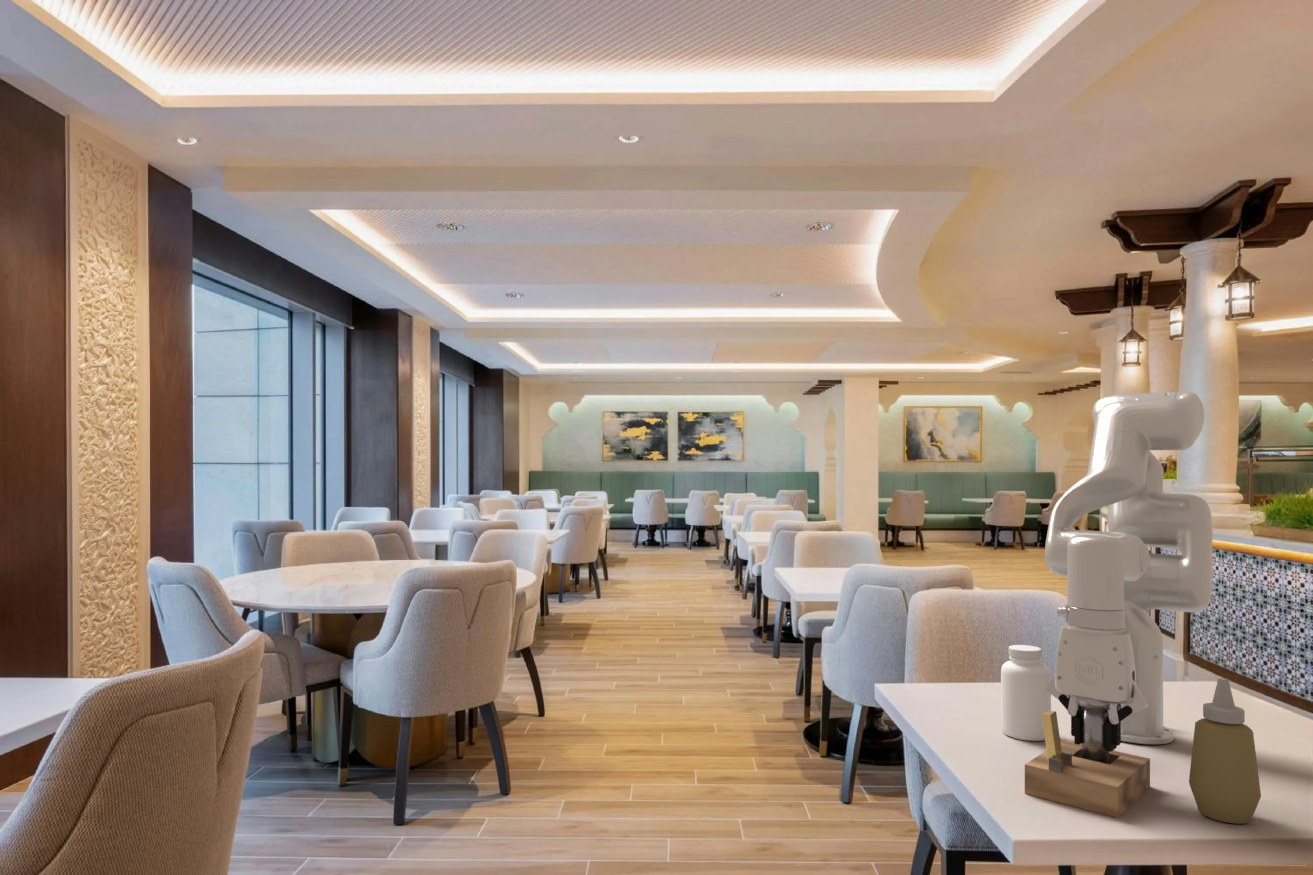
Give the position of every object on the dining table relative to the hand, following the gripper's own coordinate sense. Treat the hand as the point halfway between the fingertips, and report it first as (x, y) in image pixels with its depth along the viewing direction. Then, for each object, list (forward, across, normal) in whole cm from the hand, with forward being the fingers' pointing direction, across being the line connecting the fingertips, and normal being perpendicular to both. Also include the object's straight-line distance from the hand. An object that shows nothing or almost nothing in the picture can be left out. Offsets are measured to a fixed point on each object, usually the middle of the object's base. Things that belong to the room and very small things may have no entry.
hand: (1095, 744), depth 126 cm
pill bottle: (+6, -16, +17) cm, 24 cm away
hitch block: (+6, 0, -3) cm, 7 cm away
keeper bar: (-2, -2, -9) cm, 10 cm away
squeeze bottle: (+6, +16, 0) cm, 17 cm away
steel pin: (+3, 0, 0) cm, 3 cm away
